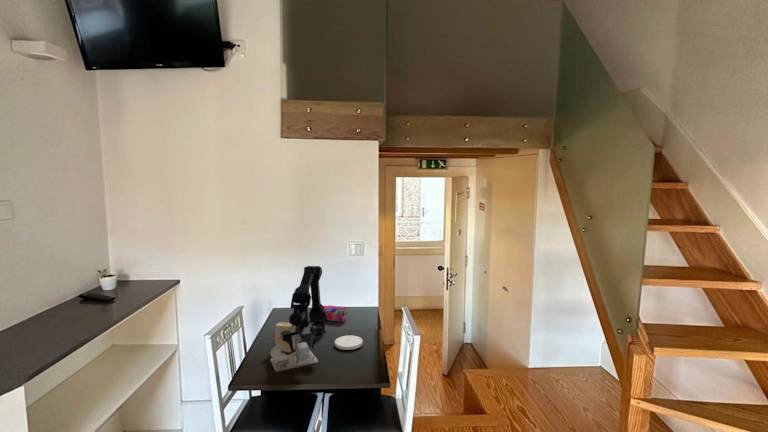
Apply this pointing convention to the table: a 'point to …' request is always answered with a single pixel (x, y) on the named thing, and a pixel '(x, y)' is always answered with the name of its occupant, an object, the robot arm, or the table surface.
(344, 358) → the table surface
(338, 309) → the pencil case
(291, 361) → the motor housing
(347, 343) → the plastic lid
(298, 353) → the grey block with cylinder
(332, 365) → the table surface
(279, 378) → the table surface
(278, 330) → the supplement box
